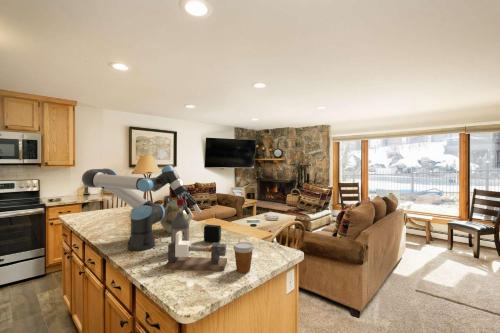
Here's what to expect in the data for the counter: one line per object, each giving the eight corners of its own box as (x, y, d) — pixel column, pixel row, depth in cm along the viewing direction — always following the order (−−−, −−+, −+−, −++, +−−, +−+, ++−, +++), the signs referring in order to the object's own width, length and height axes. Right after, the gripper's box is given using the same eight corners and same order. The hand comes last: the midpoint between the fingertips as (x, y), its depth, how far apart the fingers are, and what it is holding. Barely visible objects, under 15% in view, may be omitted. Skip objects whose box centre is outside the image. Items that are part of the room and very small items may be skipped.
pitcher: (186, 235, 169) (186, 199, 169) (152, 235, 169) (152, 199, 169) (194, 227, 191) (194, 195, 191) (164, 227, 192) (164, 195, 192)
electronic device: (218, 243, 155) (218, 227, 155) (203, 241, 157) (203, 226, 157) (220, 240, 159) (220, 225, 159) (206, 239, 161) (206, 224, 161)
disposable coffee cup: (233, 266, 120) (233, 241, 120) (252, 265, 121) (252, 241, 121) (233, 275, 111) (233, 248, 111) (254, 274, 112) (254, 248, 111)
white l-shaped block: (175, 256, 118) (175, 234, 118) (179, 252, 124) (179, 230, 124) (187, 257, 118) (187, 234, 118) (191, 252, 124) (191, 230, 124)
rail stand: (165, 268, 117) (165, 246, 117) (172, 260, 127) (173, 240, 127) (224, 270, 115) (224, 248, 115) (227, 262, 125) (227, 241, 125)
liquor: (171, 250, 140) (171, 198, 140) (187, 248, 144) (187, 197, 143) (171, 256, 132) (172, 200, 131) (189, 254, 135) (189, 199, 135)
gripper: (174, 186, 145) (193, 217, 144) (190, 182, 169) (206, 208, 168) (164, 193, 146) (183, 223, 145) (181, 188, 170) (198, 214, 169)
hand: (196, 215), depth 157 cm, fingers open, 13 cm apart
